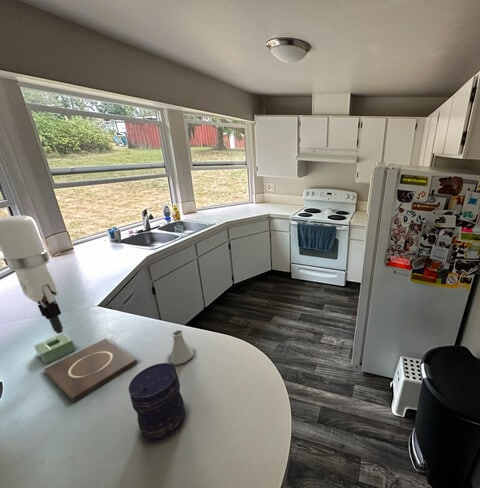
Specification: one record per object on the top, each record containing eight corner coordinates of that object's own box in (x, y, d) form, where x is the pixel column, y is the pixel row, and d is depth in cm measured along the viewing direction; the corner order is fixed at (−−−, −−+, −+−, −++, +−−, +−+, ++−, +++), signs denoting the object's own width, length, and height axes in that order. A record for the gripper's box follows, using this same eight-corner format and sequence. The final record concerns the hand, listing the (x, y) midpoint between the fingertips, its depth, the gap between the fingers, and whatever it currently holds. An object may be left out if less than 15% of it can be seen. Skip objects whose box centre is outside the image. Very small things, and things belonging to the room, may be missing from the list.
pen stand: (46, 363, 81) (42, 354, 80) (38, 355, 84) (33, 345, 83) (75, 349, 87) (71, 340, 86) (66, 342, 90) (63, 333, 89)
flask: (189, 345, 90) (185, 323, 87) (196, 357, 86) (192, 333, 82) (167, 356, 86) (161, 332, 82) (173, 368, 81) (167, 343, 77)
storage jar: (158, 403, 70) (147, 361, 65) (193, 405, 70) (185, 363, 64) (131, 441, 60) (116, 396, 55) (171, 444, 60) (160, 399, 55)
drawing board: (73, 402, 69) (71, 397, 69) (45, 372, 78) (43, 368, 77) (137, 362, 83) (136, 358, 82) (107, 341, 91) (105, 337, 91)
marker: (56, 335, 77) (42, 302, 73) (53, 332, 78) (39, 300, 74) (65, 331, 79) (51, 298, 75) (62, 329, 80) (48, 296, 76)
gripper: (-2, 259, 70) (24, 314, 76) (19, 271, 63) (45, 330, 70) (36, 250, 76) (57, 302, 83) (59, 261, 70) (80, 316, 76)
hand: (52, 314), depth 76 cm, fingers closed on marker, 2 cm apart
